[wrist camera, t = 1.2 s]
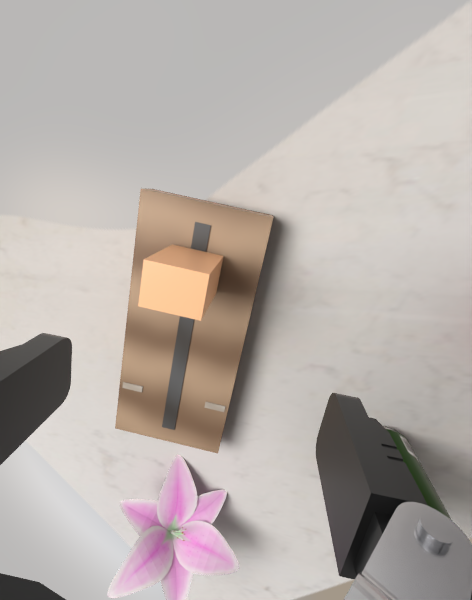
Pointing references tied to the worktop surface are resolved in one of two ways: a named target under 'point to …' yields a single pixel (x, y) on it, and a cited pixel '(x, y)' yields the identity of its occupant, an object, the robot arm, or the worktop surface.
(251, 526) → the worktop surface
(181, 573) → the lily
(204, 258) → the fader knob
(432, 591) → the robot arm
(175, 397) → the fader base
